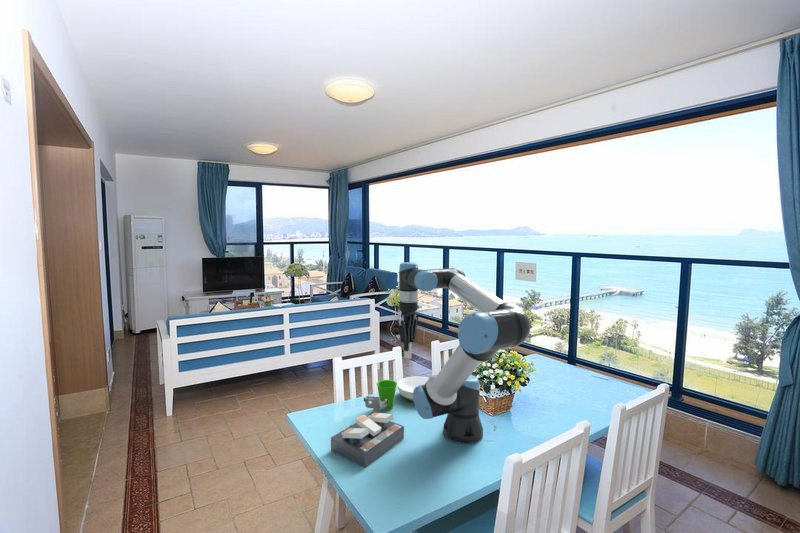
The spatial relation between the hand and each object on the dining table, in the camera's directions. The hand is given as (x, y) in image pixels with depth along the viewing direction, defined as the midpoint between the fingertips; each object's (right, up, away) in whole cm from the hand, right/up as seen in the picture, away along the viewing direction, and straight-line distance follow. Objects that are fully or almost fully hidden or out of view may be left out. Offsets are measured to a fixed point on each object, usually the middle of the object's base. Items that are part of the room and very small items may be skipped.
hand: (407, 357), depth 159 cm
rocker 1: (-19, -21, -23) cm, 37 cm away
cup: (-9, -25, +13) cm, 29 cm away
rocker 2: (-15, -20, -18) cm, 31 cm away
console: (-15, -28, -17) cm, 36 cm away
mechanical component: (-13, -26, 0) cm, 29 cm away
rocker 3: (-11, -20, -12) cm, 25 cm away
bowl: (+5, -24, +24) cm, 34 cm away
